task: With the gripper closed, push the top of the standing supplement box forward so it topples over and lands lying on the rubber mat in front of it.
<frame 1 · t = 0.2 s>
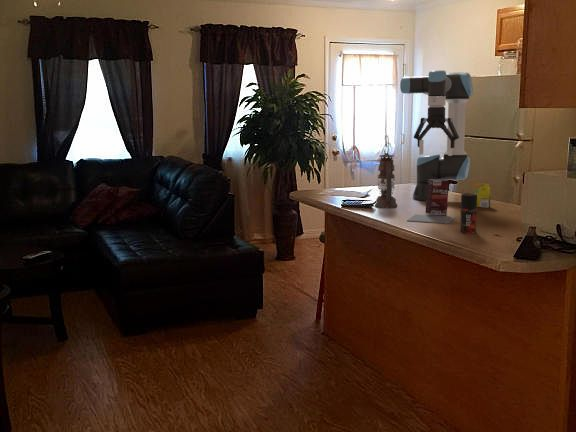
hand: (435, 155, 277), 27 cm above the countertop, tool pointing down, fingers open, 13 cm apart
mat: (431, 219, 274), on the countertop
supplement box: (436, 215, 283), on the countertop, touching mat
crayon box: (481, 207, 303), on the countertop
deodorant: (468, 232, 247), on the countertop
lantern: (386, 206, 309), on the countertop
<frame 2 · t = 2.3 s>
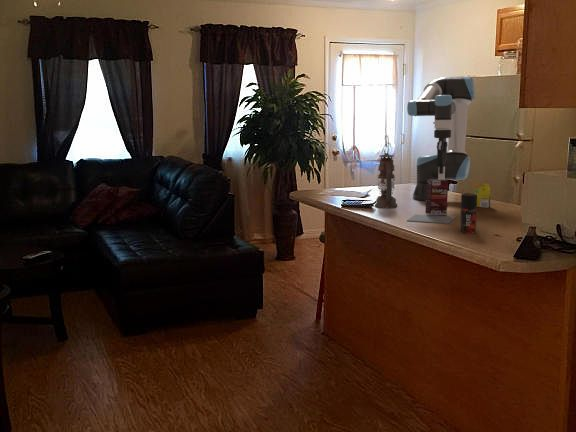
hand: (441, 180, 290), 15 cm above the countertop, tool pointing down, fingers closed
nothing on the countertop moved.
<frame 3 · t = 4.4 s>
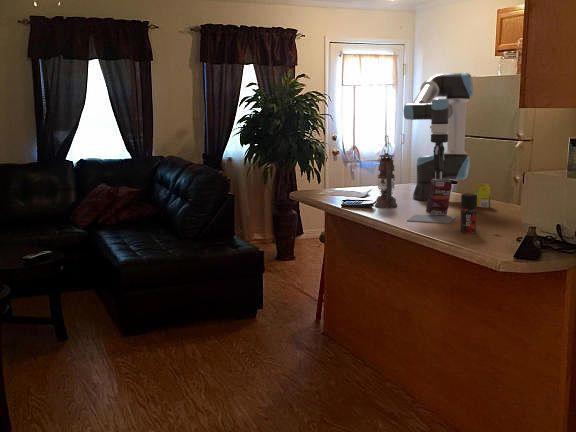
hand: (438, 185, 284), 13 cm above the countertop, tool pointing down, fingers closed
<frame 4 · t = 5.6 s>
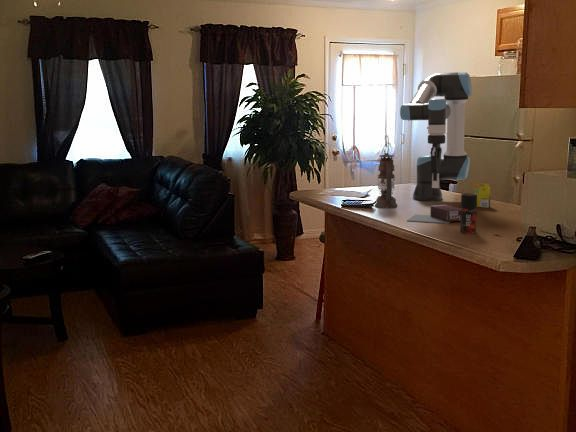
hand: (435, 187, 278), 13 cm above the countertop, tool pointing down, fingers closed
supplement box: (438, 210, 281), point 3 cm above the countertop, touching mat
everything else where it was.
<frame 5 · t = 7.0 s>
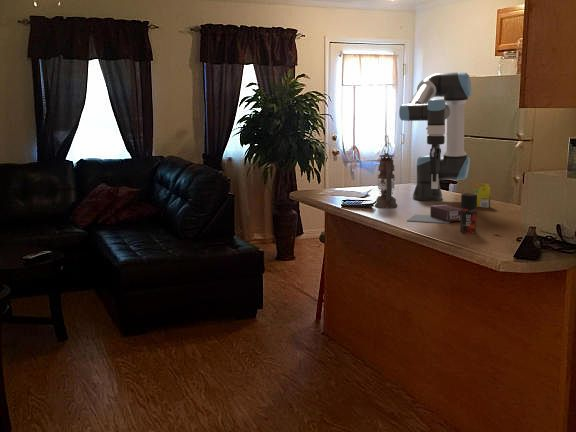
hand: (434, 188, 277), 13 cm above the countertop, tool pointing down, fingers closed
nothing on the countertop moved.
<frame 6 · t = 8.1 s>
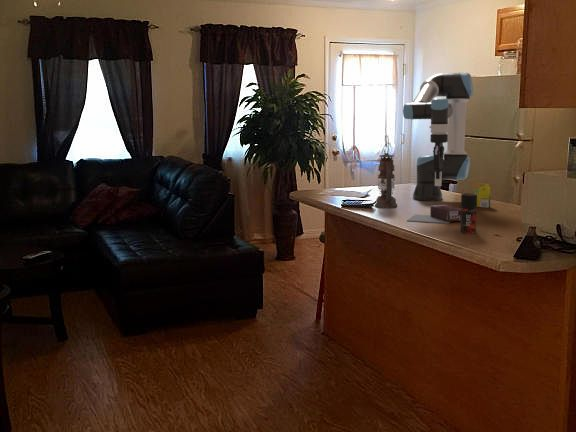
hand: (438, 185, 283), 13 cm above the countertop, tool pointing down, fingers closed
nothing on the countertop moved.
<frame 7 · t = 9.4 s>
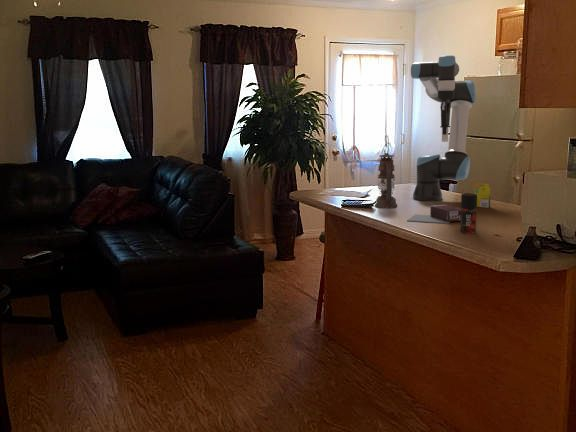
hand: (444, 141, 292), 32 cm above the countertop, tool pointing down, fingers closed
nothing on the countertop moved.
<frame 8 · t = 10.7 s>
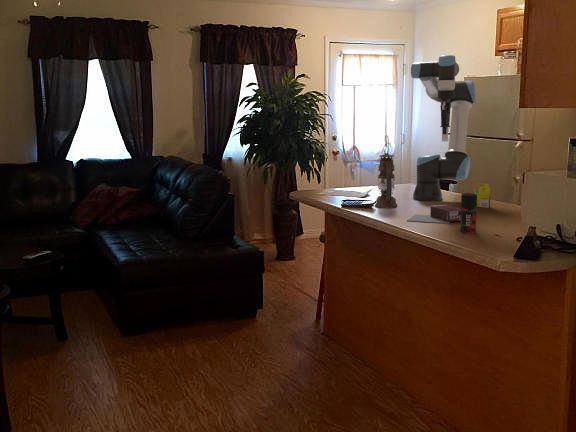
hand: (444, 141, 292), 32 cm above the countertop, tool pointing down, fingers closed
nothing on the countertop moved.
at the end: supplement box tilted 89°; supplement box inside the target area (4.9 cm from its centre), point 2.7 cm above the countertop; the gripper is holding nothing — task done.
